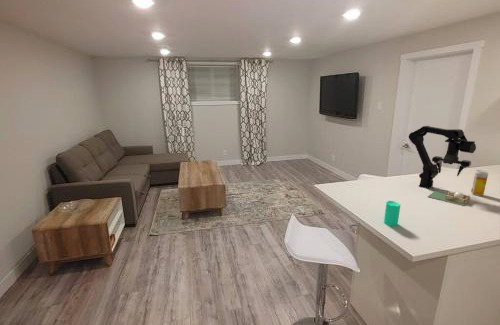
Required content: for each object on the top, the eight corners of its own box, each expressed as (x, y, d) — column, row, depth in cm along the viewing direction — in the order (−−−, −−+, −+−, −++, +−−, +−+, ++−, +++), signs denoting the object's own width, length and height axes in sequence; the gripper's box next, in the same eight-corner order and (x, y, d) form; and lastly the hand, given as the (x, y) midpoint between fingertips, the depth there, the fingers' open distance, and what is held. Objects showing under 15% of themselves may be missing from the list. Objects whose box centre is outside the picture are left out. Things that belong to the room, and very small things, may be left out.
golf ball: (466, 196, 152) (459, 200, 153) (464, 196, 156) (457, 201, 157) (459, 190, 154) (452, 194, 155) (458, 190, 158) (451, 195, 159)
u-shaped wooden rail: (444, 199, 156) (445, 195, 156) (448, 195, 162) (449, 191, 161) (465, 204, 149) (466, 200, 148) (469, 200, 155) (469, 196, 154)
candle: (381, 220, 131) (384, 198, 128) (392, 220, 131) (395, 197, 128) (388, 226, 125) (391, 203, 122) (400, 226, 126) (403, 202, 123)
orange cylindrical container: (485, 196, 161) (491, 173, 158) (474, 195, 162) (479, 172, 159) (479, 192, 167) (484, 170, 163) (468, 192, 168) (473, 169, 164)
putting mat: (427, 197, 161) (427, 196, 161) (434, 191, 170) (434, 191, 170) (464, 206, 148) (464, 205, 147) (469, 199, 156) (470, 199, 156)
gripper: (431, 149, 163) (427, 173, 167) (469, 154, 149) (464, 180, 153) (436, 147, 170) (432, 170, 174) (473, 151, 156) (468, 176, 160)
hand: (448, 174), depth 165 cm, fingers open, 9 cm apart
